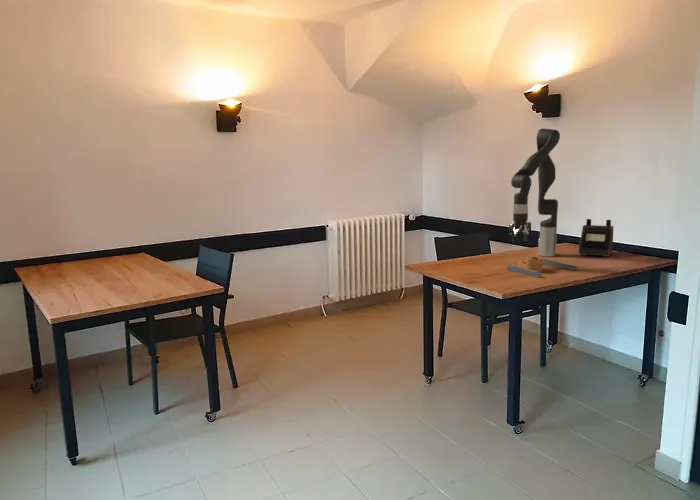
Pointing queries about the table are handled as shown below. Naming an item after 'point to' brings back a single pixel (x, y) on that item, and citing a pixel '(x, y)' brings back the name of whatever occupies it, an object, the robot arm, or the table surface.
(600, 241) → the voltmeter
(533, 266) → the bracket
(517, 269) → the guide rails
